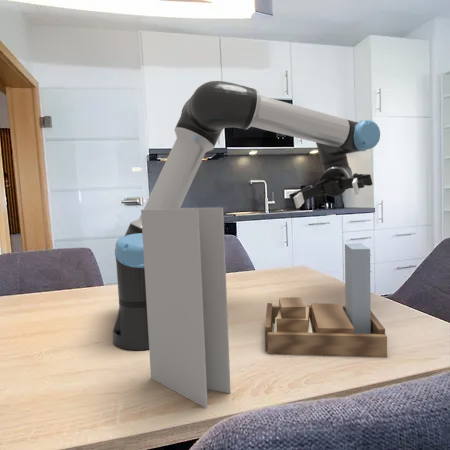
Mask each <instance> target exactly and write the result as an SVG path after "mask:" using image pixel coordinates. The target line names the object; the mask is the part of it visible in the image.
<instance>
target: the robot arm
mask: <svg viewBox="0 0 450 450" xmlns="http://www.w3.org/2000/svg"><path fill="white" fill-rule="evenodd" d="M251 127H252V128H257V129H260V130H264V131H269V132H273V133H277V134H281V135H285V136H288V137H291V138H292V137H294V138H296V139H302V140H306V141H310V142H312V143H313V142H314V143H315V144H316V147H317V150H318V155H319V158H320V162H321V165H322V169H323V174H322V175H321V176H320V178H319V182H317V183H315V184H314V185H312V184H309V185H307V186H305V187H304V188H301V189H299V190H296V191H294V192H292V193H290V194H289V196H288V197H289V200H290V203H291V204H293V205H295V208H296V209H300V208H301V207H302V205H303V204H304V203H305V201H306V200H307V201H308V200H310V199H312V198H315V197H323V196H329V197H338V196H341V195H343V194H344V193H345V191H346V190H349V189H352V190H353V193H354V195H359V193H360V189H363V188H365V187H366V186H369V187H371V186H373V179H372V176H371V174H368V173H367V174H364V173H363V174H362V173H357V172H356V173H352V172H353V171H352V169H351V166H350V164H349V161H348V154H354V153H358V152H366V151H367V150H371V149H373V148H375V147H376V146H377V145H378V143H379V141H380V140H381V139H380V138H381V130H380V127H379V125H378V124H377V123H376V122H375V121H374V120H372V119H365V120H364V119H363V120H359V121H354V120H350V119H346V118H342V117H340V116H335V115H332V114H328V113H325V112H320V111H317V110H314V109H310V108H308V107H303V106H300V105H296V104H293V103H289V102H285V101H282V100H278V99H275V98H272V97H267V96H264V95H260V93H259V92H258V89H256V88H252V87H250V86H245V85H243V84H242V85H241V84H237V83H234V82H228V81H222V80H212V81H211V80H210V81H207V82H204V83H203V84H201V85H199V87H197V88H196V89H195V91H194V92H193V94H192V95H191V97H189V99H188V100H187V101H186V102H185V103H184V105H183V107H182V110H181V113H180V117H179V119H178V121H177V124H176V125H175V127H174V133H175V136H176V139H175V141H174V144H173V145H172V147H171V150H170V152H169V154H168V156H167V158H166V160H165V163H164V165H163V167H162V169H161V171H160V173H159V175H158V177H157V180H156V182H155V184H154V187H153V189H152V190H151V193H150V195H149V197H148V199H147V202H146V204H145V206H144V207H143V209H142V210H152V209H166V208H182V205H183V202H184V200H185V198H186V196H187V193H188V192H189V189H190V188H191V185H192V183H193V180H194V179H195V177H196V175H197V172H198V170H199V168H200V166H201V164H202V161H203V159H204V157H205V154H206V153H207V152H210V151H213V150H214V149H215V146H216V144H217V142H218V141H219V138H220V136H221V134H222V132H223V130H224V129H226V128H227V129H228V128H237V129H243V130H248V129H249V128H251ZM114 257H115V262H116V277H117V291H118V293H117V294H118V311H117V314H116V317H115V322H114V326H113V330H112V339H113V340H112V341H113V343H114V345H115V346H116V347H117V348H121V349H124V350H131V351H139V350H140V351H142V350H143V351H144V350H149V335H148V319H147V302H146V285H145V268H144V251H143V235H142V218H141V215H140V216H139V218H138V219H135V220H133V221H131V222H130V223H129V225H128V227H127V229H126V232H125V234H124V236H121V237H119V238H118V239H117V240H116V242H115V248H114Z"/></svg>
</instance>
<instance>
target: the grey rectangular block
mask: <svg viewBox="0 0 450 450" xmlns="http://www.w3.org/2000/svg"><path fill="white" fill-rule="evenodd" d="M344 279H345V280H344V282H345V285H344V287H345V289H344V291H345V294H344V295H345V300H344V301H345V306H346V315H347V316H348V318H349V320H350V322H351V324H352V325H353V327H354V334H371V312H372V309H371V248H369V247H368V246H366V245H365V244H363V243H361V242H360V243H344Z"/></svg>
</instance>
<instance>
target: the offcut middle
mask: <svg viewBox="0 0 450 450" xmlns="http://www.w3.org/2000/svg"><path fill="white" fill-rule="evenodd" d="M276 322H277V332H294V333H308V329H309V307H306V318H296V319H282V317H281V313H280V310H279V313H278V315H277V318H276Z"/></svg>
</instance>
